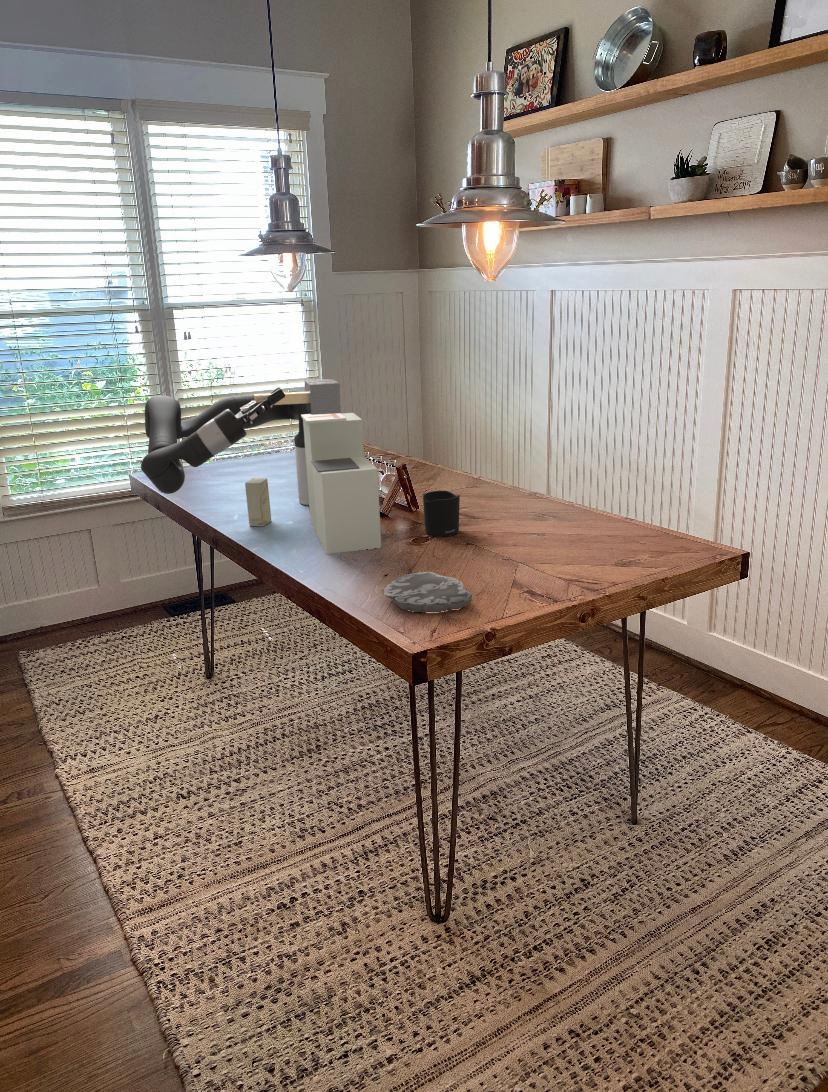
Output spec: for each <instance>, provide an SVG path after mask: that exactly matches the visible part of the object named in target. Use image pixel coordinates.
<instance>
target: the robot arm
mask: <svg viewBox="0 0 828 1092" xmlns="http://www.w3.org/2000/svg"><path fill="white" fill-rule="evenodd" d="M290 392H305V388H299V389H298V388H297V389H295V390H290V391H284V390H283V389H282V388H281V387H276V388H275V389H273V390H271V391H270V392H268V394H270V393H272V394H271V395H269V396H268V398H267V397H266V398H264V399H263V400H261V401H260V402H258V401H256V402H255V400H254V394H249V395H248V394H247V395H235V396H226V397H223V398H221V399H218V400H217V401H215V402H214V403H212V404H211V405H210V406H209V407H208V408H206V409H205V410H203V411H202V412H201V413H199V414H197V415H196V416H194V417H190V418H188V419H187V418H186V419H183V420H182V408H181V405H180V403H179V401H178V400H177V399H176V398H174V397H172V396H170V395H155V396H152V397H150V398H149V399H148V400H147V401H146V402H145V404H144V405H145V406H144V427H145V428H144V429H145V430H144V431H145V435H146V436H147V438H148V447H147V454H146V455H145V456H144V457H143V459H142V460H141V463H140V468H141V471H142V472H143V474H144V475H145V477H147V479H148V480H149V481H150V482H151V483H152V484H153V485H154V487H155V488H156V489H157V490H158V491H159V492H160V493H162V494H166V495H170V494H174V493H176V492H178V491H179V490H181V488H182V486H183V485H184V482H185V479H186V475H185V469H184V467H183V465H182V462H181V460H182V461H183V462H186V463H187V464H188V465H189V466H190V467H193V468H198V467H200V466H201V465H203V464H204V463H206V462H207V461H209V460H210V459H212V458H213V457H214V456H216V455H218V454H220V453H222V452H224V451H225V450H227V449H228V448H230V447H232V446H234V445H235V444H236V443H237V442H240V440H242V439H243V438H245V437H246V436H247V435H248V434H247V431H246V429H248V430H249V429H252V428H256V427H259V426H261V425H264V424H267V423H269V422H273V421H279V420H293V421H294V420H296V421H298V433H297V434H296V435H294V440H293V441H294V452H295V453H294V455H295V466H296V467H295V468H296V477H297V478H296V479H297V493H298V503H299V504H301V505H304V506H306V505H307V506H309V494H308V481H307V467H306V454H305V440H304V427H303V418H302V417H301V415H303V414H310V413H309V412H308V411H307V410H306V403H301V404H282V405H274V404H275V403H277V402H278V401H280V400H281V399H283V398H284V397H285V394H284V393H290ZM272 404H273V405H272ZM262 405H263V406H262ZM181 439H182V440H181ZM178 440H180V441H178Z"/></svg>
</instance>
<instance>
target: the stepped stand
mask: <svg viewBox="0 0 828 1092" xmlns="http://www.w3.org/2000/svg"><path fill="white" fill-rule="evenodd" d="M301 417H302V418H303V427H304V440H305V454H306V467H307V481H308V494H309V505H308V506H309V507H308V508H309V518H310V519H309V520H310V525H311V527H312V528H313V531H314V532H316V533H315V534H316V536H317V538H318V540H319V542H320V544H321V546H322V547H323V550H324V551H325V553H326V555H330V554H331V555H332V554H341V553H342V554H343V553H349V552H351V553H352V552H358V551H359V550H360V551H367V550H366V549H368V550H375V549H374V548H377V549H382V536H381V534H382V533H381V516H380V515H381V514H380V497H379V495H380V494H379V476H378V475H379V473H378V470H379V469H378V468H377V466H375V464H373V463H372V462H371V461H370V460H369V459H368V458H367V457H366V456H365V452H364V451H365V449H364V430H363V429H364V428H363V427H364V426H363V419H362V418H361V417H359V416H358V415H357V414H355V413H354V412H345V413H342V412H341V413H335V414H317V415H311V414H303V415H301Z"/></svg>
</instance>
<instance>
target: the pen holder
mask: <svg viewBox="0 0 828 1092" xmlns="http://www.w3.org/2000/svg"><path fill="white" fill-rule="evenodd" d="M460 497H461V496H460V494H458V495H455V494H454V493H452V492H450V491H448V490H432V491H429V492H425V493H423V495H422V501H423V502H422V504H423V517H424V518H423V519H424V530H425V533H426V535H428V534H429V535H428V536H430V535H432V536H431V537H435V536H447V537H450V536H449V535H452V536H454V535H453V534H455V535H456V533H457V532H458V533H459V531H460V530H459V528H460V504H461V503H460V501H461V500H460ZM458 533H457V534H458Z"/></svg>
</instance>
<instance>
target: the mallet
mask: <svg viewBox="0 0 828 1092" xmlns="http://www.w3.org/2000/svg"><path fill="white" fill-rule="evenodd" d="M303 381H304V389H305V392H290V393H285V392H284V394H285V397H284V398H283V399H281V400H280V401H278V402H277V403H275V404H274V405H282V404H301V403H306V410H307V411H308V412H309V413H310V414H311V415H317V414H335V413H341V414H342V412H341V411H342V409H341V388H340V386H341V385H340V384H341V383H339V382H338V381H337V380H335V379H333V378H330V379H326V378H325V379H308V380H307V379H306V380H303ZM269 393H270V392H269ZM269 393H254V394H253V395H254V400H255V402H256V401H258V402H260V401H261V400H263V399H264V398H266V397H267V398H268V396H269V395H271V394H272V393H270V394H269ZM272 405H273V404H272ZM262 406H263V405H262Z"/></svg>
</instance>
